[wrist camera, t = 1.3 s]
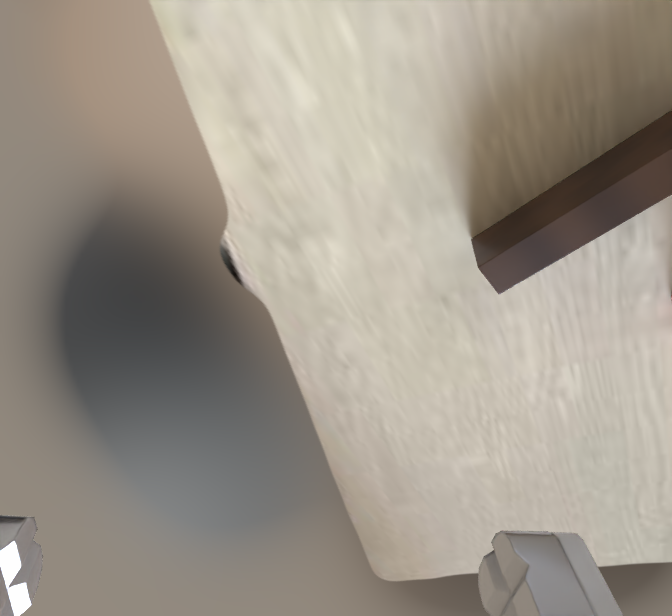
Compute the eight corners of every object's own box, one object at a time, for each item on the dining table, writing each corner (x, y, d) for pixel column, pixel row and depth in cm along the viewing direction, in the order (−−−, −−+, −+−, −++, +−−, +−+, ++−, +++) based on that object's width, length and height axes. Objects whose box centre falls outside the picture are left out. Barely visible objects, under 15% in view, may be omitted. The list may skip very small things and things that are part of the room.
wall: (725, 75, 36) (767, 89, 32) (742, 111, 37) (785, 129, 33) (470, 239, 45) (477, 267, 40) (490, 264, 46) (499, 295, 41)
